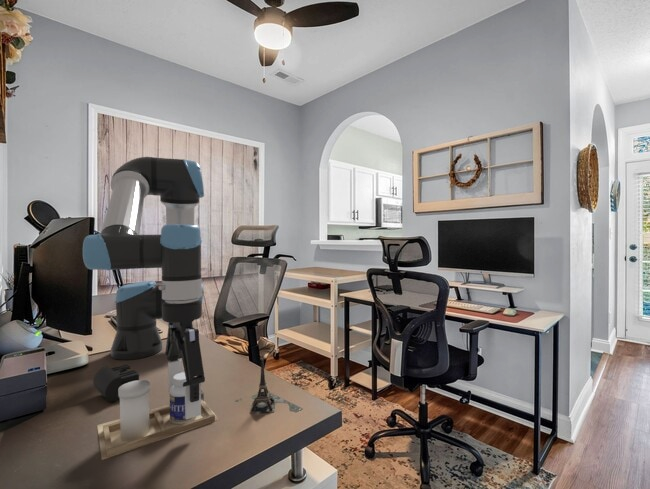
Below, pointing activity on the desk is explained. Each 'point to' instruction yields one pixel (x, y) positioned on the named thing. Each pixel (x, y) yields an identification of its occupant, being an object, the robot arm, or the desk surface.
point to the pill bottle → (178, 400)
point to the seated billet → (134, 409)
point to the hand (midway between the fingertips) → (183, 402)
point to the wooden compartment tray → (158, 430)
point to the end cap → (113, 380)
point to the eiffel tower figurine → (267, 397)
